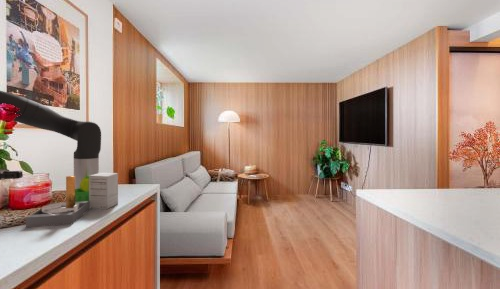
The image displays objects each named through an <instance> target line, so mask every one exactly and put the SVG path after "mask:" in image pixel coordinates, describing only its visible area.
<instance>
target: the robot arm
mask: <svg viewBox="0 0 500 289" xmlns="http://www.w3.org/2000/svg"><path fill="white" fill-rule="evenodd" d="M2 103H6V104H11V105H14V106H15V107H18V108H20V111H18V112H16V114H20V113H22V115H20V116H18V117H16V118H15V119H14V122H17V123H20V124H22V125H26V126H30V127H33V128H38V129H41V130H46V131H51V132H53V133H54V132H55V133H57V134H60V135H62V136H64V137H67V138H69V139H72V140H74V141H77V142H76V144H77V145H76V148H75V150H74V152H73V176H75V189H77V188H80V182H81V181H82V179H83V178H84V177H86V176H90V175H94V174H98V173H100V170H99V169H100V167H99V166H100V165H99V158H100V157H99V156H100V152H101V151H102V150H101V149H102V130H101V127H100V126H99V125H98V123H96V122H94V121H81V120H77V119H73V118H70V117H66V116H64V115H62V114H60V113H58V112H56V111H54V109H51V108H50V107H48V106H46V105H45V104H42V103H40V102H36V101H34V100H32V99H29V98H26V97H24V96H20V95H18V94H14V93H10V92H7V91H4V90H0V104H2ZM23 174H24V173H23V171H22V170H10V169H6V168H5V169H4V168H0V181H4V180H16V179H21V178H23V176H24V175H23Z"/></svg>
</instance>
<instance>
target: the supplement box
mask: <svg viewBox="0 0 500 289" xmlns="http://www.w3.org/2000/svg"><path fill="white" fill-rule="evenodd" d="M89 201H90V209H94V210H95V209H97V210H99V209H101V210H108V209H110V208H112V207H114V206H116V205H118V204H119V173H117V172H99V173H98V174H94V175H90V176H89Z"/></svg>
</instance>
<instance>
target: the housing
mask: <svg viewBox="0 0 500 289" xmlns="http://www.w3.org/2000/svg"><path fill="white" fill-rule="evenodd" d="M55 203H56V202H51V203H48V205H50V204H55ZM59 203H62V201H61V202H60V201H59ZM77 203H79V209H78V205H75V206H74V212H71V213H54V214H50V213H49V214H42V208H40V209H38V210H36V211H35V212H33V213H31V214H30V215H28V216H25V228H37V227H51V226H64V225H67V226H68V225H73V224H74V223H76V222H77V221H78V220H79V219H80V218H81V217H83V216H84V215H85V214H86V213H87V212H89V211H90V209H91V208H90V201H81V202H77Z"/></svg>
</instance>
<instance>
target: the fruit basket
mask: <svg viewBox="0 0 500 289" xmlns="http://www.w3.org/2000/svg"><path fill="white" fill-rule="evenodd" d="M81 201H89V176H86V177H84V178H83V179H82V181H81V182H80V188H77V189H75V202H81Z"/></svg>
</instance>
